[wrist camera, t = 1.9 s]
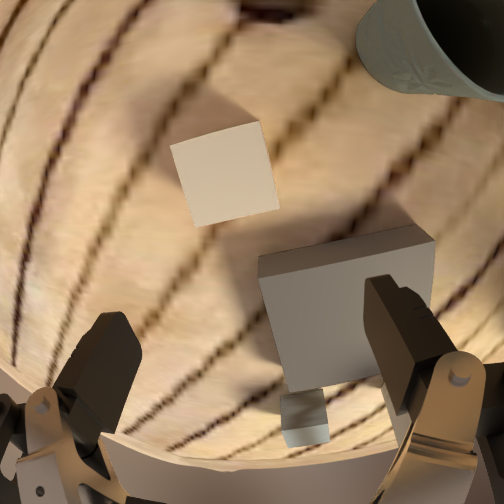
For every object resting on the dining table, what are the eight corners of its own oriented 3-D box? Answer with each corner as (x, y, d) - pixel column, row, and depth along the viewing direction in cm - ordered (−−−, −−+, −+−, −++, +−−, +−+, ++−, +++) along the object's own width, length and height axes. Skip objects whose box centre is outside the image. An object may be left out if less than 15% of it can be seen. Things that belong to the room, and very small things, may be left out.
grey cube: (322, 388, 36) (328, 423, 31) (325, 409, 39) (329, 441, 33) (280, 395, 37) (281, 430, 32) (286, 415, 40) (288, 448, 34)
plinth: (416, 224, 25) (435, 240, 22) (408, 340, 32) (419, 362, 28) (258, 256, 27) (257, 278, 24) (287, 368, 34) (289, 392, 31)
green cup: (324, 43, 19) (372, -11, 8) (385, -15, 15) (447, -68, 4) (409, 123, 21) (498, 138, 10) (460, 60, 17) (546, 53, 7)
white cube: (260, 120, 22) (259, 120, 17) (276, 188, 25) (280, 208, 19) (191, 139, 23) (169, 145, 18) (210, 203, 25) (195, 228, 20)
